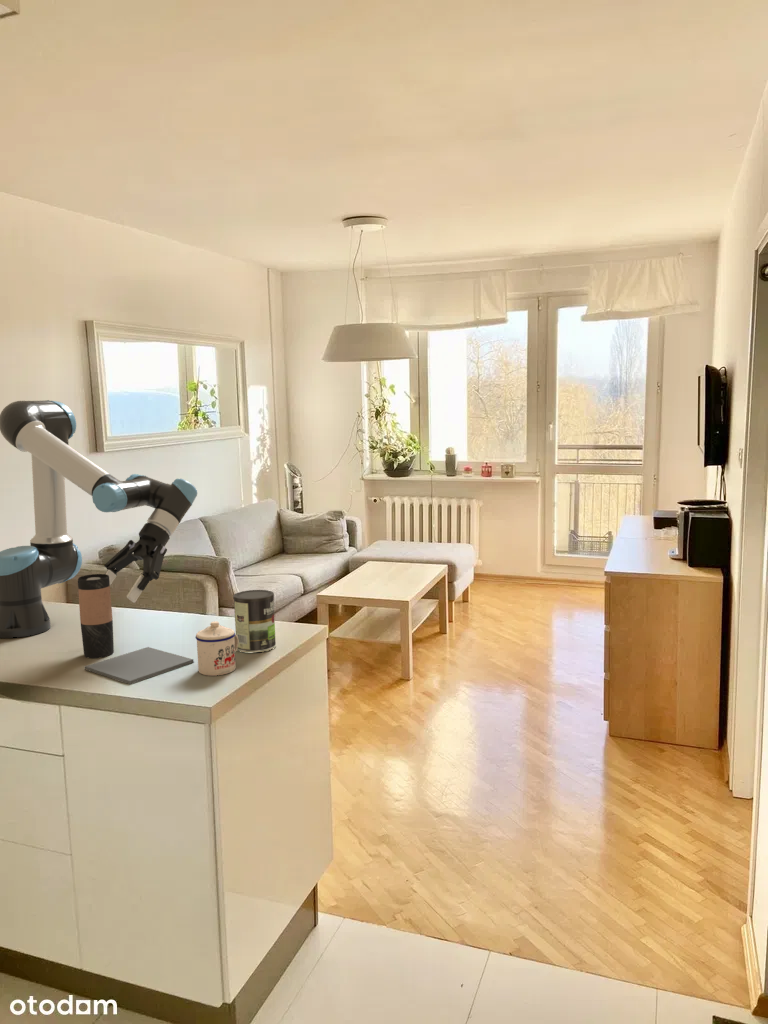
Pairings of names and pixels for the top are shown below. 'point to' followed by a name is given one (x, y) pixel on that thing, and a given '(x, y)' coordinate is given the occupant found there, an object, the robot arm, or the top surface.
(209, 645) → the teacup with lid
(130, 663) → the pad
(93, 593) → the travel mug
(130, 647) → the top surface
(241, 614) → the coffee can
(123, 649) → the top surface
